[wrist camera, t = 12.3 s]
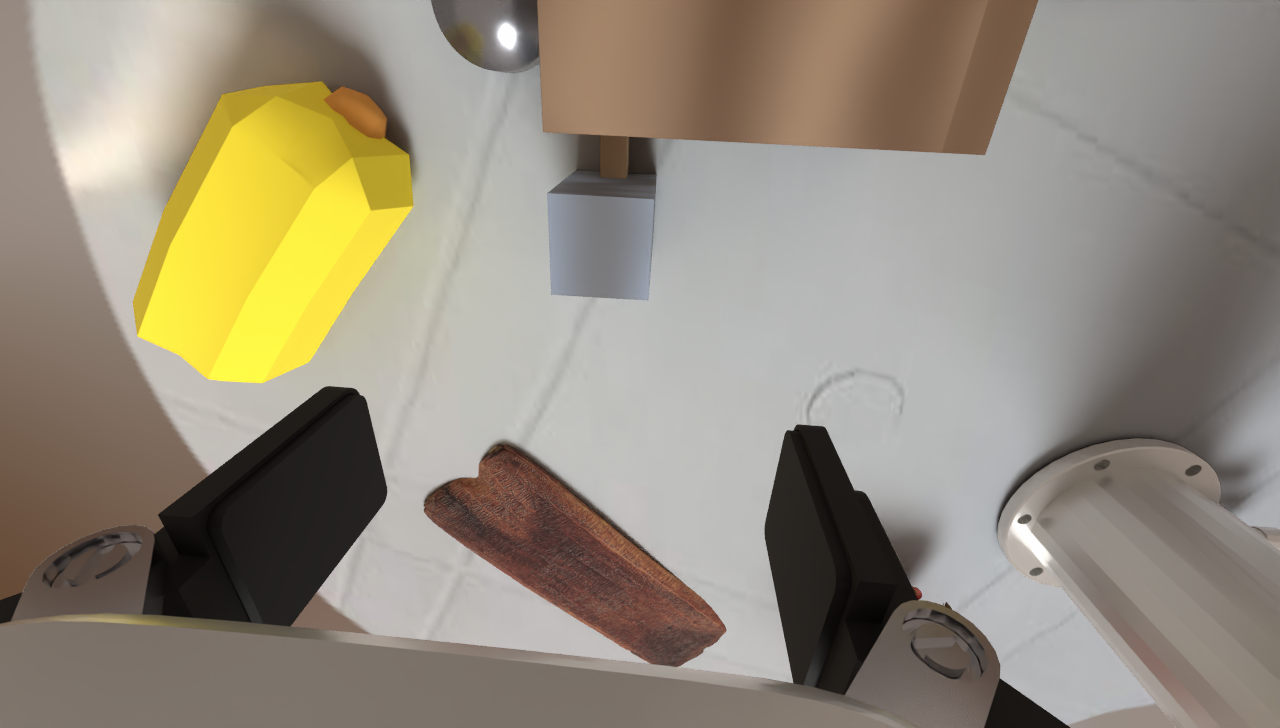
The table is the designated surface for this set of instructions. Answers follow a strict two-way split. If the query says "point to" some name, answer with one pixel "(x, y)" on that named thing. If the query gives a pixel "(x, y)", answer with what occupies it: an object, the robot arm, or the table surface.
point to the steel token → (492, 32)
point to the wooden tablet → (573, 558)
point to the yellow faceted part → (271, 229)
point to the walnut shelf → (782, 70)
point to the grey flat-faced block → (603, 228)
